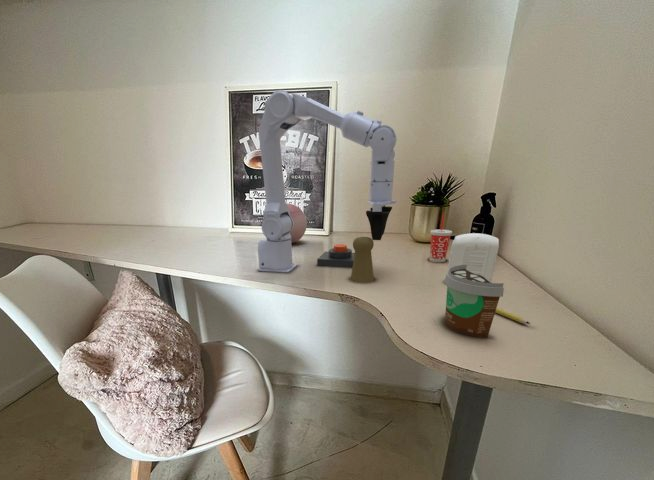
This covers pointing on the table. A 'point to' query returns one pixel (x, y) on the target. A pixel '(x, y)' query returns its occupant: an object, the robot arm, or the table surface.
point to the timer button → (340, 248)
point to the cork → (362, 260)
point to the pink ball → (297, 222)
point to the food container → (470, 302)
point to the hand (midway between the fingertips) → (378, 237)
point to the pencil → (511, 316)
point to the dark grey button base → (336, 259)
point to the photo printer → (475, 253)
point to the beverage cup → (439, 244)
